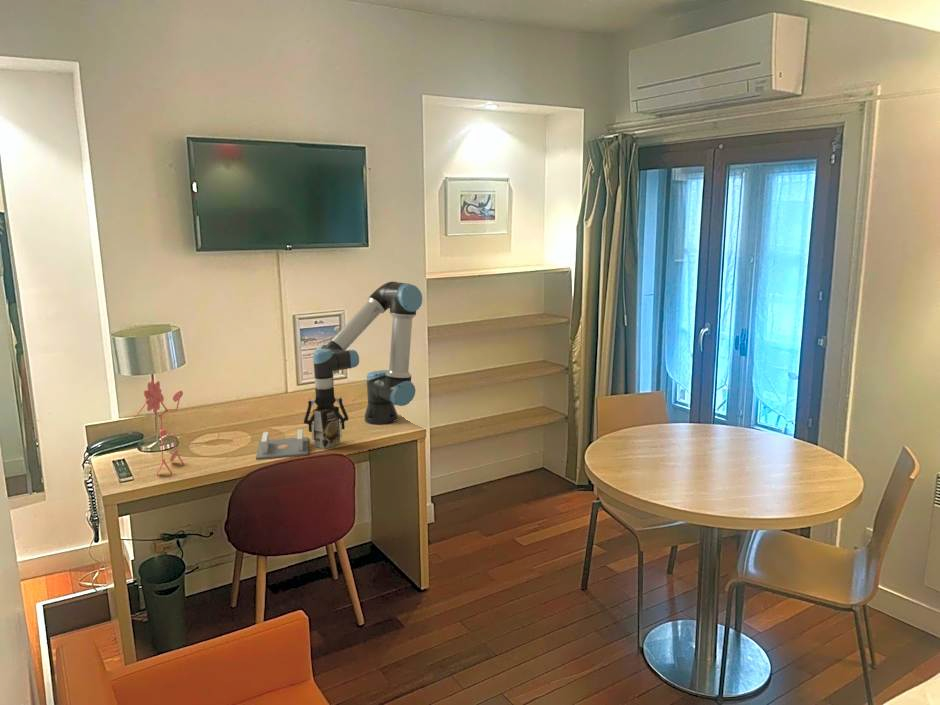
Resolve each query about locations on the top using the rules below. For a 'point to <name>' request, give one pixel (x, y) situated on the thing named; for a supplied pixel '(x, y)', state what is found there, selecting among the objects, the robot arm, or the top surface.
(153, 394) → the figurine
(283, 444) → the collar base
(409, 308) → the robot arm
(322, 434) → the coffee box
